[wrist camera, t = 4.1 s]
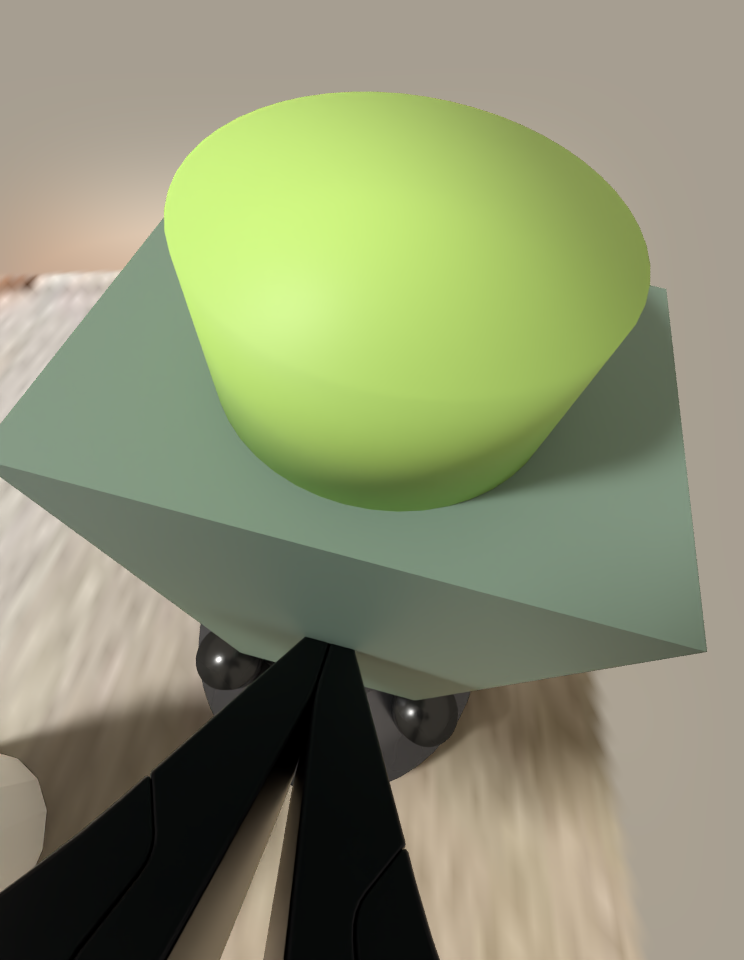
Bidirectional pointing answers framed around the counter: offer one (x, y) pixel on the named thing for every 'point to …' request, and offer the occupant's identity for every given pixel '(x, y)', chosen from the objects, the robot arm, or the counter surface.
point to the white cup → (19, 820)
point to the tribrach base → (398, 720)
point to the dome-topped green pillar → (383, 403)
